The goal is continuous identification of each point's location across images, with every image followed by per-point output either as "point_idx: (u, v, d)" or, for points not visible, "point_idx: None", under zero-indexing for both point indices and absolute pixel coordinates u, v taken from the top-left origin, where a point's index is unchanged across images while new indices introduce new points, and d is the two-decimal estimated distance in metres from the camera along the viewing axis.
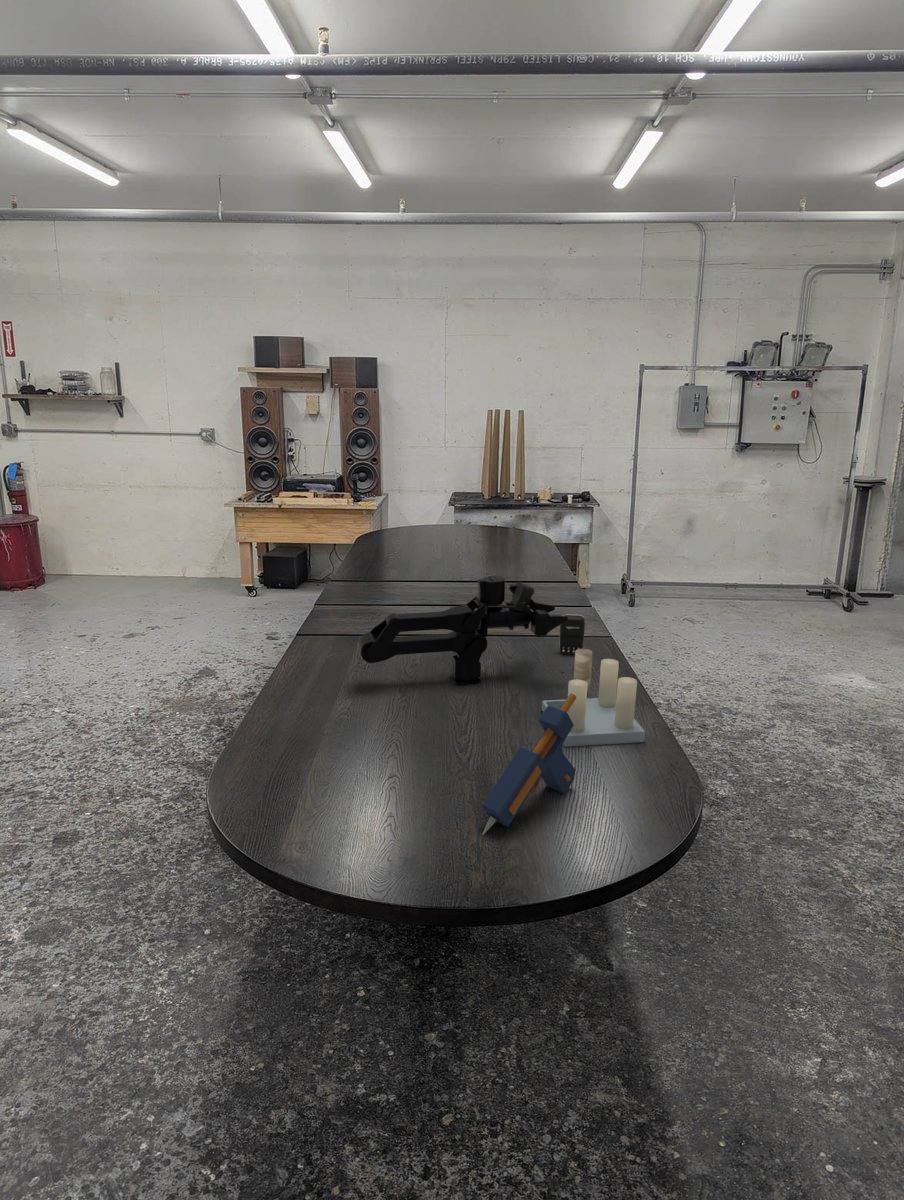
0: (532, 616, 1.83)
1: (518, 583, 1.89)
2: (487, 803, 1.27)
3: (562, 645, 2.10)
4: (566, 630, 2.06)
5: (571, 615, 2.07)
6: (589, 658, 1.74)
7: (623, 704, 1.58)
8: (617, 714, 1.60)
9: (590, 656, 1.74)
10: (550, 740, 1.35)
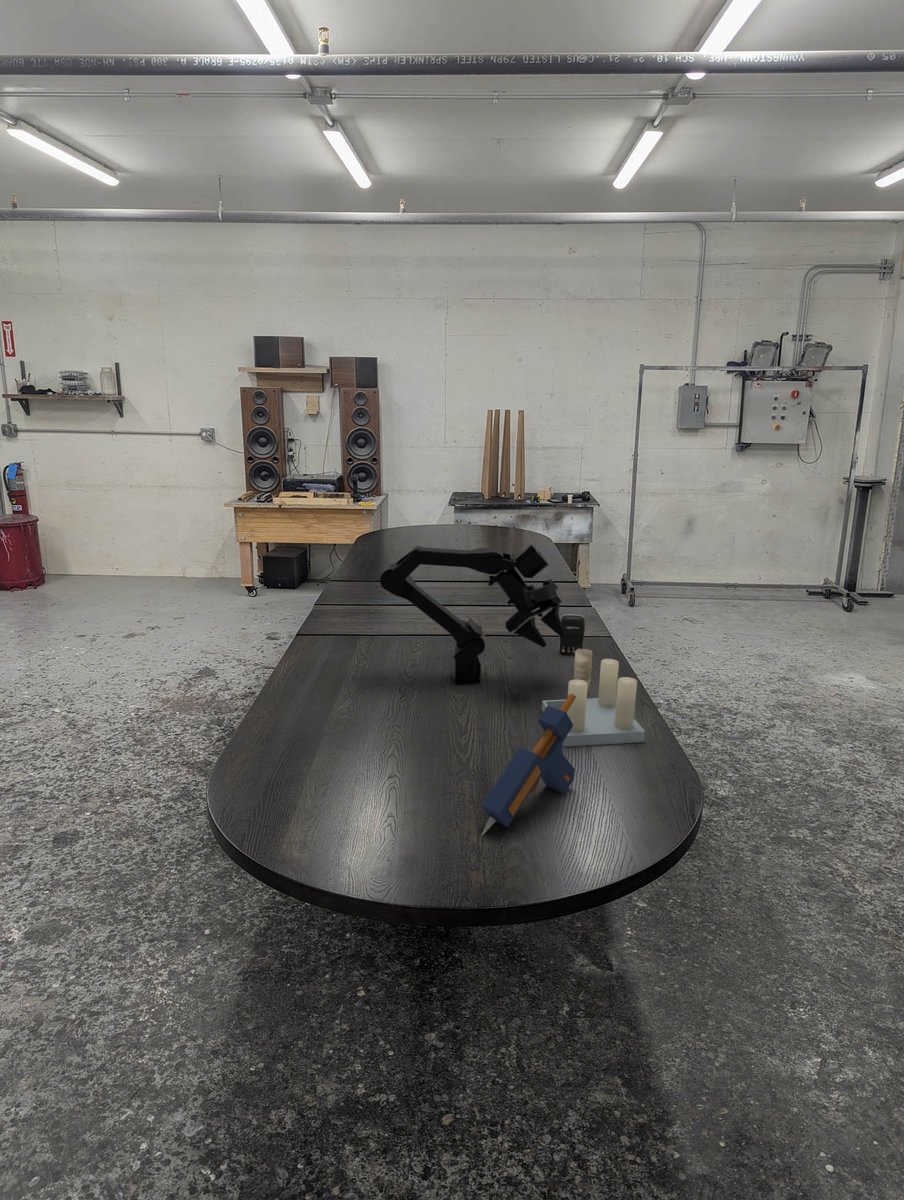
0: None
1: (551, 583, 1.78)
2: (486, 803, 1.27)
3: (562, 645, 2.10)
4: (566, 630, 2.06)
5: (571, 615, 2.07)
6: (589, 658, 1.74)
7: (623, 704, 1.58)
8: (617, 714, 1.60)
9: (590, 656, 1.74)
10: (549, 740, 1.35)
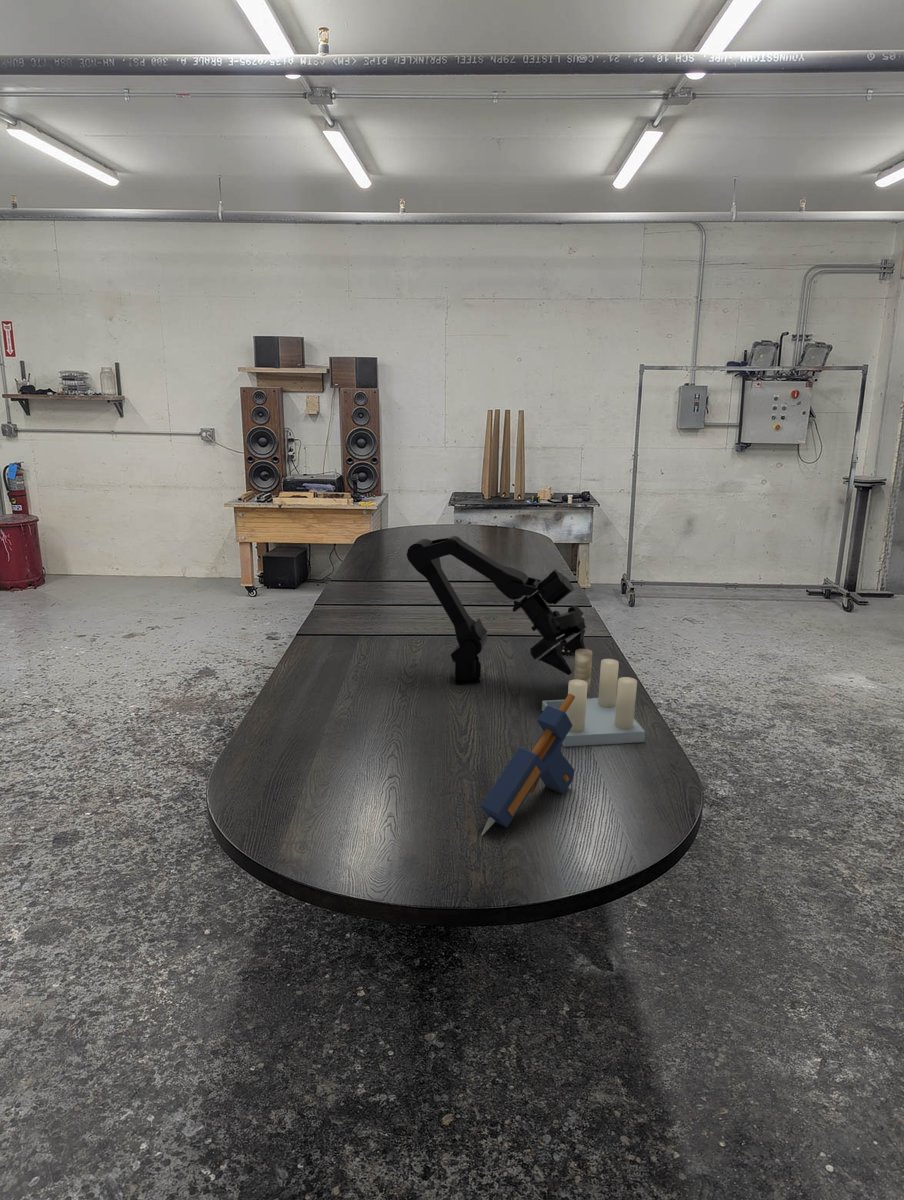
0: (546, 637, 1.73)
1: (577, 609, 1.75)
2: (486, 803, 1.27)
3: (562, 645, 2.10)
4: None
5: None
6: (589, 658, 1.74)
7: (623, 704, 1.58)
8: (617, 714, 1.60)
9: (590, 656, 1.74)
10: (549, 740, 1.35)
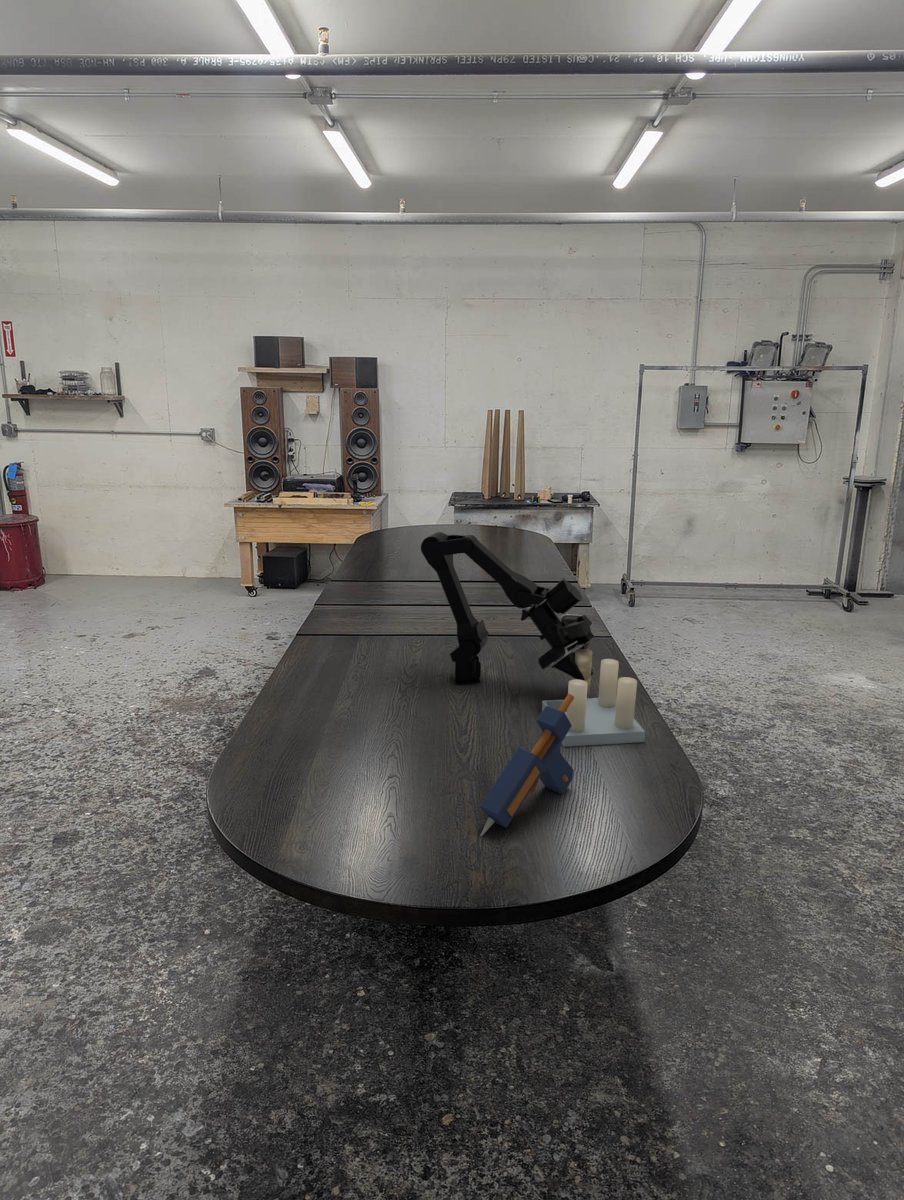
0: (554, 647, 1.72)
1: (585, 619, 1.75)
2: (485, 804, 1.27)
3: None
4: None
5: (571, 615, 2.07)
6: (589, 658, 1.74)
7: (623, 704, 1.58)
8: (617, 714, 1.60)
9: (590, 656, 1.74)
10: (548, 741, 1.35)
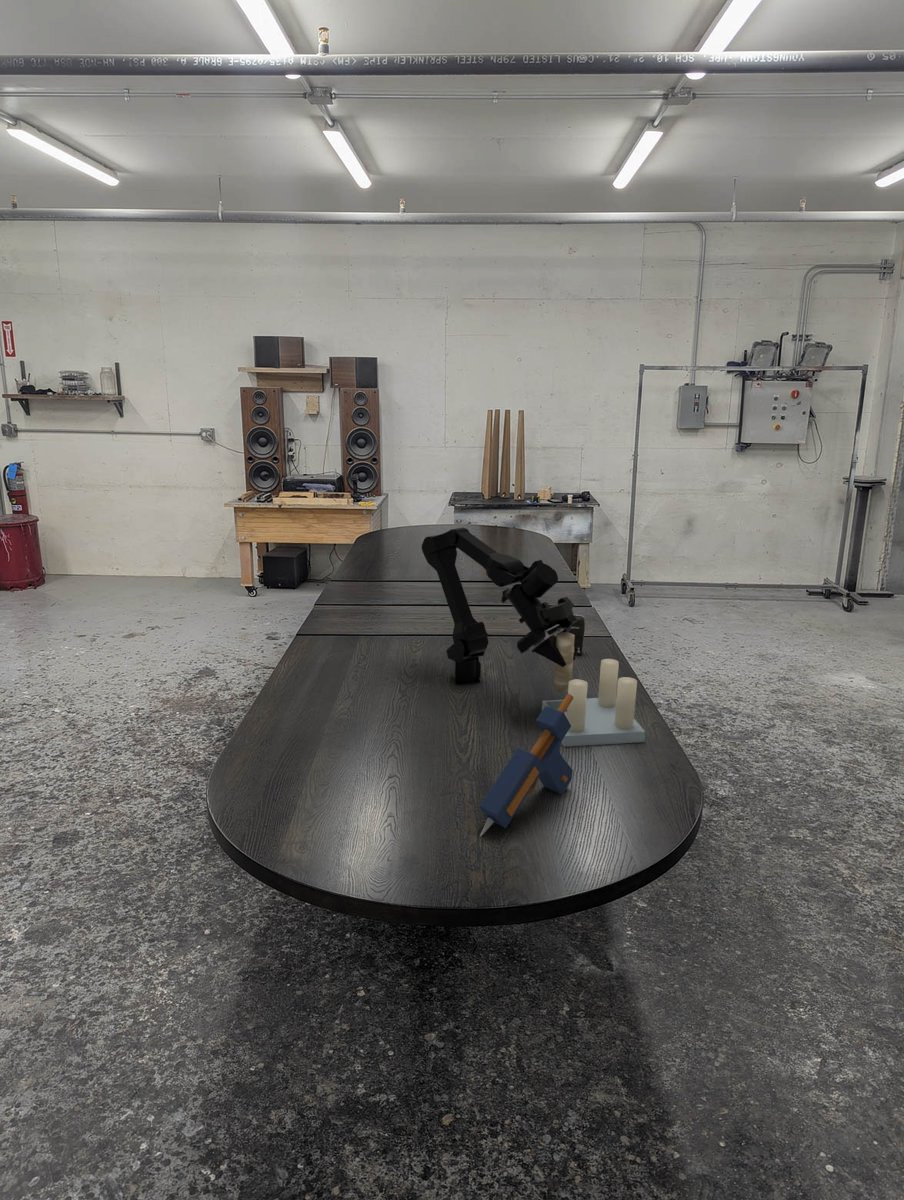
0: None
1: (567, 601, 1.65)
2: (484, 804, 1.27)
3: None
4: None
5: None
6: (571, 642, 1.64)
7: (623, 704, 1.58)
8: (617, 714, 1.60)
9: (572, 640, 1.64)
10: (547, 741, 1.34)
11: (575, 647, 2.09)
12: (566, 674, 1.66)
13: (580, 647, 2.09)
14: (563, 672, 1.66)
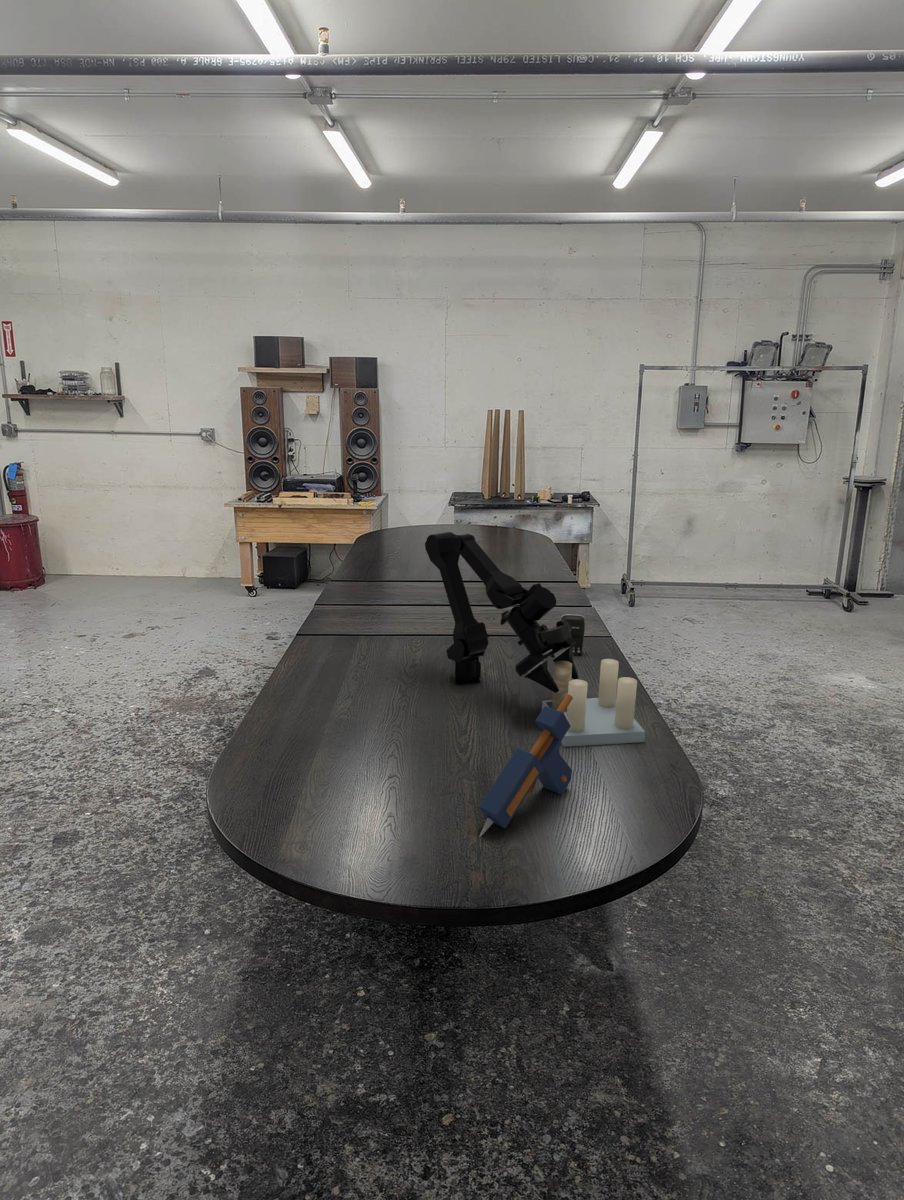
0: (532, 653, 1.64)
1: (565, 624, 1.66)
2: (484, 804, 1.26)
3: None
4: None
5: (571, 615, 2.07)
6: (568, 671, 1.66)
7: (623, 704, 1.58)
8: (617, 714, 1.60)
9: (570, 669, 1.66)
10: (547, 741, 1.34)
11: (575, 647, 2.09)
12: None
13: (580, 647, 2.09)
14: (560, 700, 1.68)
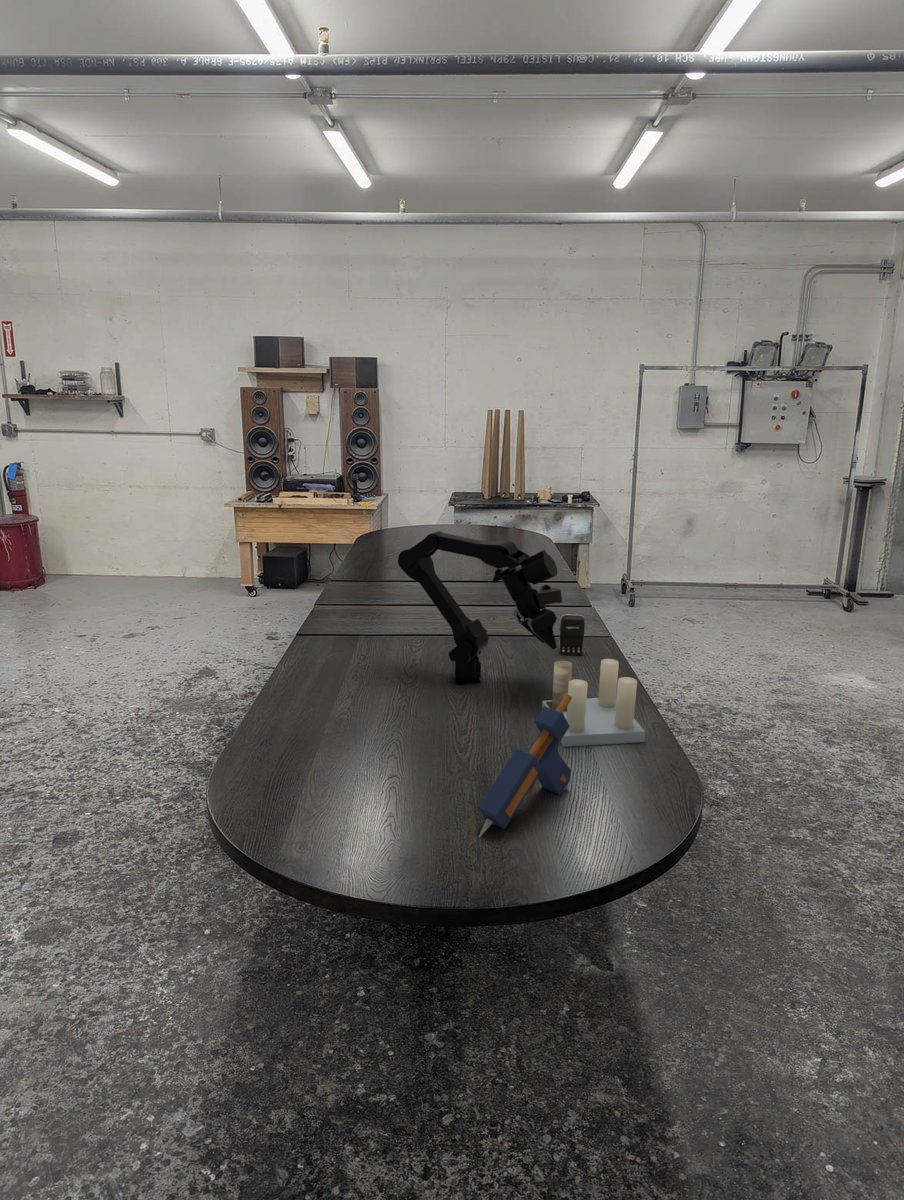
0: (544, 609, 1.73)
1: (555, 588, 1.81)
2: (483, 805, 1.26)
3: (562, 645, 2.10)
4: (566, 630, 2.06)
5: (571, 615, 2.07)
6: (568, 671, 1.66)
7: (623, 704, 1.58)
8: (617, 714, 1.60)
9: (569, 668, 1.66)
10: (546, 741, 1.34)
11: (575, 647, 2.09)
12: None
13: (580, 647, 2.09)
14: (560, 700, 1.68)
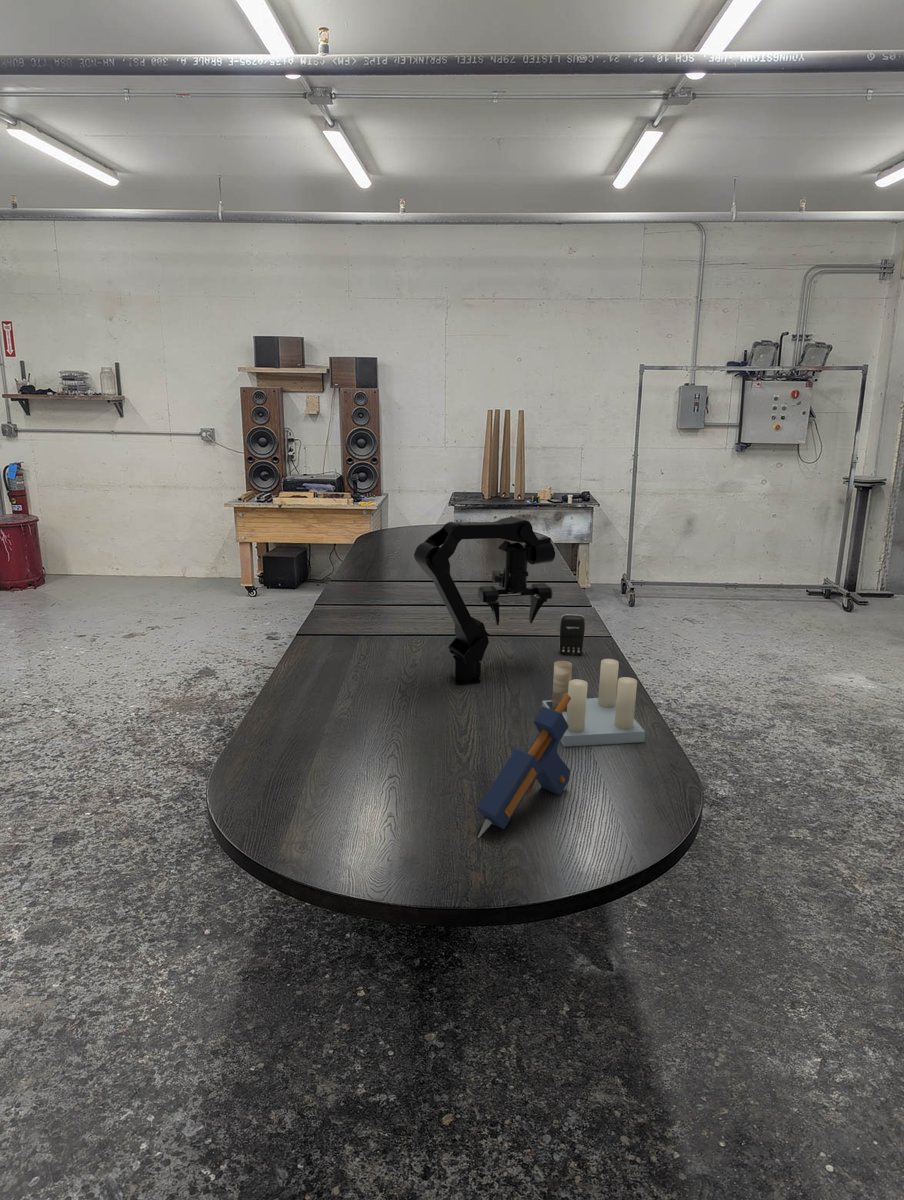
0: (536, 584, 1.94)
1: None
2: (482, 805, 1.26)
3: (562, 645, 2.10)
4: (566, 630, 2.06)
5: (571, 615, 2.07)
6: (568, 671, 1.66)
7: (623, 704, 1.58)
8: (617, 714, 1.60)
9: (569, 668, 1.66)
10: (545, 741, 1.34)
11: (575, 647, 2.09)
12: None
13: (580, 647, 2.09)
14: (560, 700, 1.68)
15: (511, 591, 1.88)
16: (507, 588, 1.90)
